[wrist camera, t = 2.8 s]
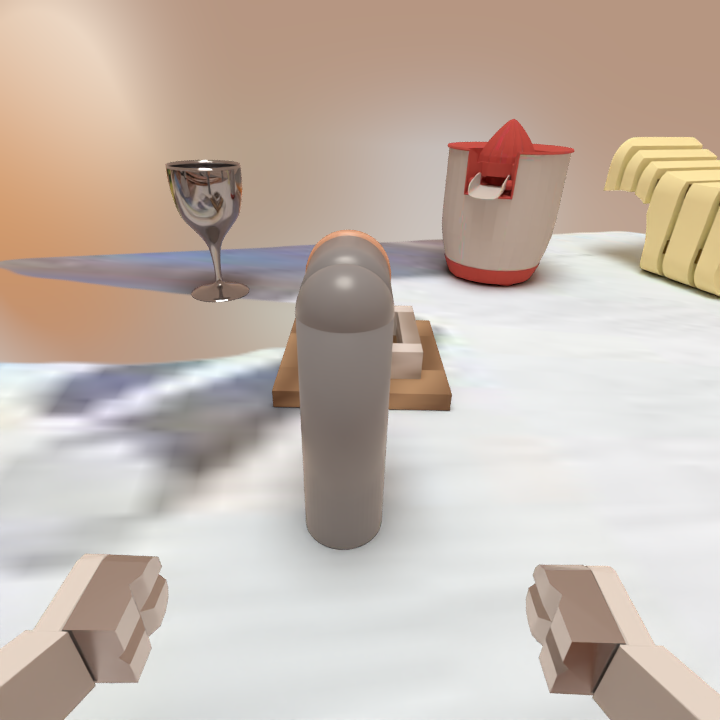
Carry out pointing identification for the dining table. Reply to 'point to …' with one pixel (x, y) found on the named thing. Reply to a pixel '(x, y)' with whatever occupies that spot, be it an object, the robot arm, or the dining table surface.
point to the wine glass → (209, 213)
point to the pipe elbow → (344, 385)
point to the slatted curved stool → (674, 206)
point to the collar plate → (408, 368)
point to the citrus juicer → (501, 205)
